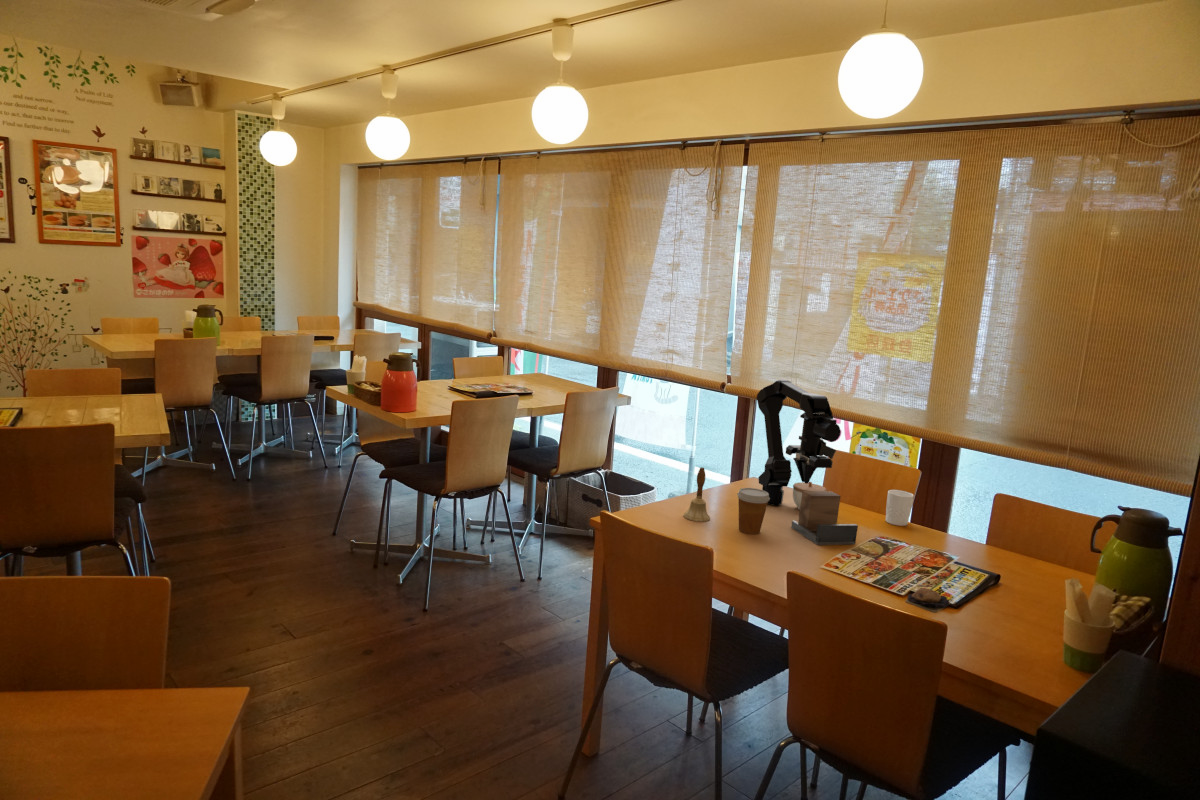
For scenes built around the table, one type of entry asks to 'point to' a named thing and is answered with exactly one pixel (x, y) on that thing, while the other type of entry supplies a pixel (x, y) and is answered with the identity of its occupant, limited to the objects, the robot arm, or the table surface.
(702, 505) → the hand bell
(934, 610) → the bread roll
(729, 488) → the table surface
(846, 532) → the grey open tray
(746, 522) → the disposable coffee cup
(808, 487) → the lidded jar
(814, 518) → the walnut slider
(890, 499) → the white cup
